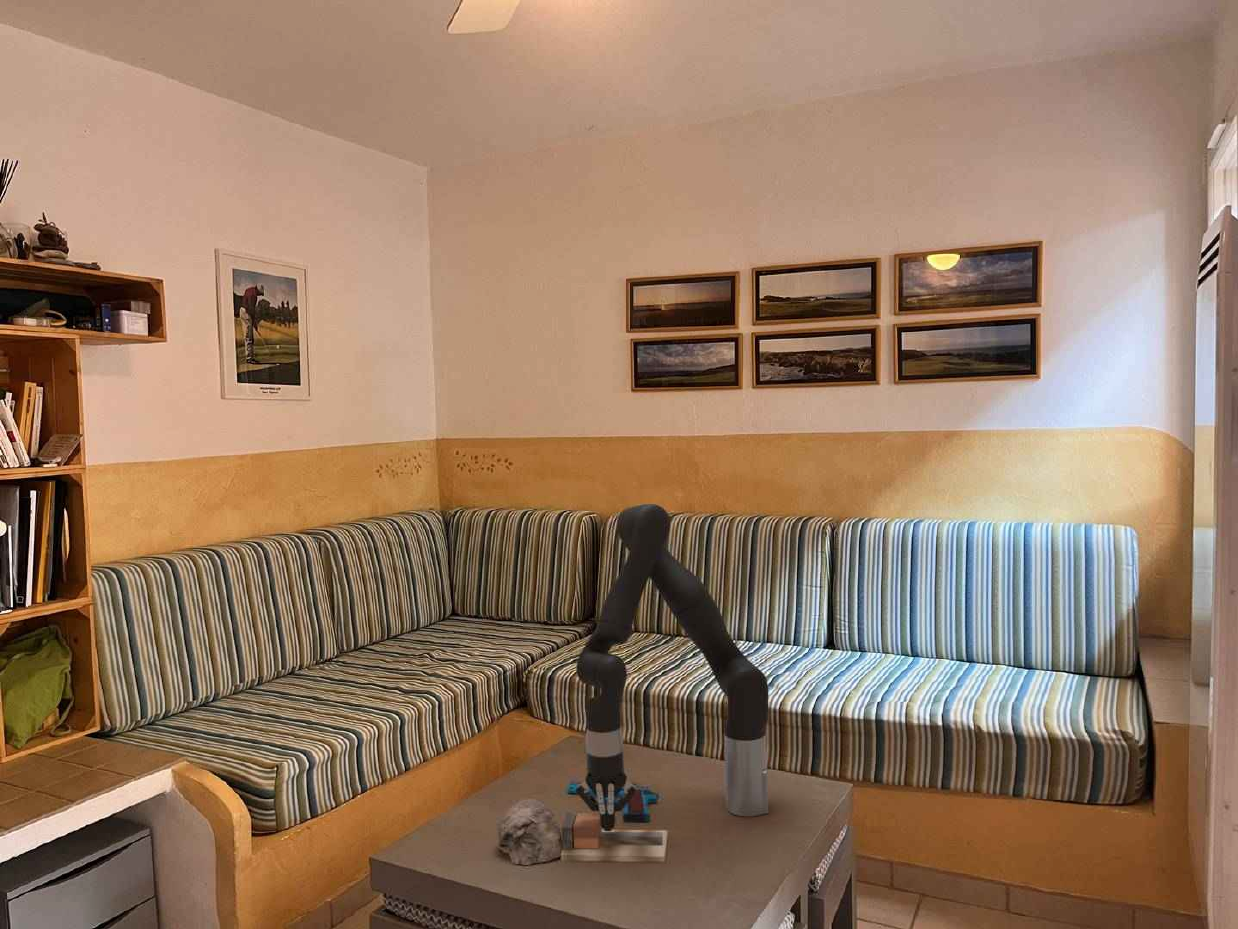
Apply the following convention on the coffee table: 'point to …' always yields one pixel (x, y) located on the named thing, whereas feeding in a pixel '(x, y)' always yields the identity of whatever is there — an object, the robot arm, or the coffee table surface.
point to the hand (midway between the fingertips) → (608, 829)
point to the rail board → (615, 845)
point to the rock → (530, 833)
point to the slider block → (587, 830)
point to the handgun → (629, 802)
